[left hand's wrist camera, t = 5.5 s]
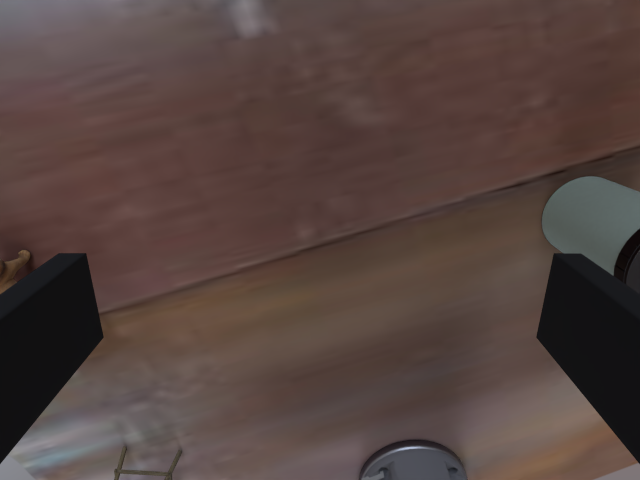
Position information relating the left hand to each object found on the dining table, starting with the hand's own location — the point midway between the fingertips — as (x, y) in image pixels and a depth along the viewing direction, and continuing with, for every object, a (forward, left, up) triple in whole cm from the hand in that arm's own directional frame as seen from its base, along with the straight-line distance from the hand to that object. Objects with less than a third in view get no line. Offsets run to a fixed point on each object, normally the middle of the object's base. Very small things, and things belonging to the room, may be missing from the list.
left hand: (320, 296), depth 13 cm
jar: (-9, -29, -36) cm, 47 cm away
